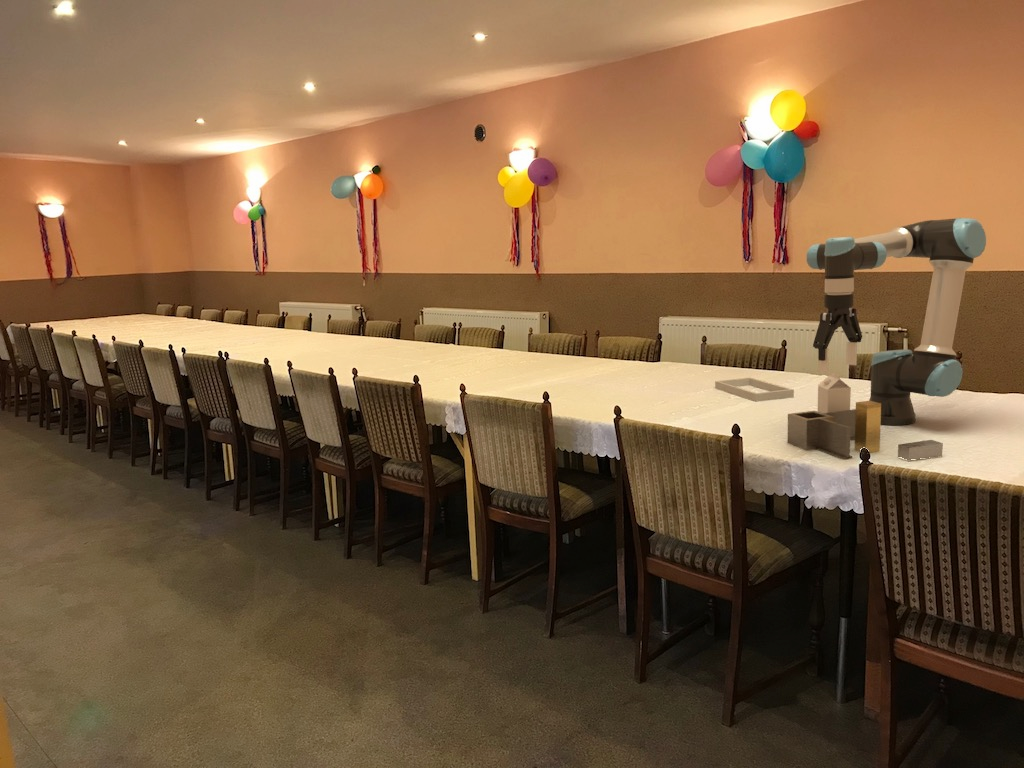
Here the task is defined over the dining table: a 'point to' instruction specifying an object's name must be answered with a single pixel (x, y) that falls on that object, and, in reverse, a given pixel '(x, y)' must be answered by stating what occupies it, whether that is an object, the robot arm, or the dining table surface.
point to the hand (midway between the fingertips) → (837, 368)
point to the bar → (920, 449)
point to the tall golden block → (867, 426)
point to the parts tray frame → (775, 393)
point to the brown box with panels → (823, 431)
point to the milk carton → (833, 394)
